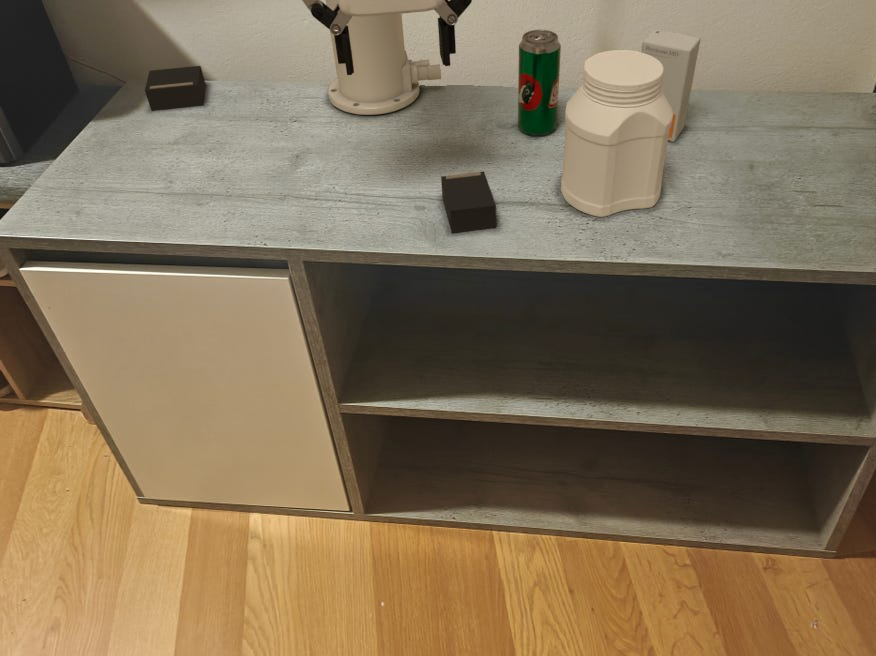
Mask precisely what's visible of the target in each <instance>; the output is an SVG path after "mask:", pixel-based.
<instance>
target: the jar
mask: <svg viewBox="0 0 876 656" xmlns="http://www.w3.org/2000/svg"><path fill="white" fill-rule="evenodd" d="M663 72H664V68H663V65H662V64H661V62H660V61H658V60H657V59H656V58H654V57H652V56H650V55H648V54H645V53H641V51H636V50H631V49H630V50H629V49H613V50H605V51H601V52H598V53H595V54H593V55H591V56H590V57H589V58H587V59H586V60H585V62H584V65H583V72H582V74H583V75H582V84H581V85H580V86H579V88H578V89H577V90H576V91H575V92H574V94H572V96H571V97H570V98H569V100H568V101H567V103H566V106H565V111H564V120H565V127H564V130H565V131H564V142H563V143H564V144H563V159H562V160H563V161H562V175H561V180H560V192H561V195H562V197H563V198H564V200H565V201H566V203H568V204H569V205H570V206H571V207H573V208H574V209H576V210H578V211H579V212H582V213H585V214H587V215H590V216H594V217H598V218H605V217H610V216H611V215H613V214H616V213H620V212H624V211H628V210H639V209H640V210H641V209H642V210H643V209H649V208H653V207H654V206H655V205H656V204H657V203H658V201H659V199H660V197H661V191H662V185H663V181H662V179H663V175H664V174H663V173H664V168H665V161H666V155H667V148H668V143H669V140H668V137H669V131H670V127H671V124H672V118H673V111H672V108H671V106H670V104H669V102H668V100H667V99H666V97H665V95H664V93H663V92H662V90H661V86H662V77H663Z"/></svg>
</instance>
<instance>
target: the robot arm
mask: <svg viewBox="0 0 876 656" xmlns="http://www.w3.org/2000/svg"><path fill="white" fill-rule="evenodd" d="M301 1H302V2H303V4H304V5H305V6H306V9H308V10H309V11H310V14H311V16H312V17H313V18H314V19H315V20H317V21H318V22H319V23H320V24H322V25H323V26H324V27H325V28H327V29H328V30H329V32H330V39H331V45H332V52H333V58H334V65H335V71H336V77H335V79H333V80H332V81H331V82H330V84H329V86H328V89H327V93H328V99H329V101H330V103H331V104H332V106H334V107H335V108H337V109H338V110H341V111H343V112H345V113H348V114H354V115H361V116H373V115H383V114H388V113H393V112H397V111H398V110H403V109H404V108H406V107H408V106H409V105H411V104H412V103H414V102H415V101H416V99H417V98H418V97H419V94H420V81H435V80H442V70H441V65H440V64H431V65H430V60H429V59H421V60H420V59H419V60H416V61H415V60H412V59H409V57H408V54H407V50H406V49H405V48H406V47H405V38H404V36H405V35H404V25H403V16H402V15H403V14H410V13H411V14H413V13H421V12H422V13H423V12H430V11H434V12H436V13H437V15H438V16H439V17H437V28H438V44H439V46H438V47H439V55H440V59H441V63H442V65H443V66H444V67H451V55H454V54H457V46H456V29H455V28H456V24H457V23H458V21H459V18H460V17H461V16H462V14H463V13H464V12H465V11H466V10H467V8H469V6H470V5H471V3H472V2H473V0H325V3H324V2H323V0H301Z"/></svg>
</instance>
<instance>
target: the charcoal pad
mask: <svg viewBox="0 0 876 656" xmlns="http://www.w3.org/2000/svg"><path fill="white" fill-rule="evenodd" d="M206 88H207V84H206V80H205V77H204V73H203V69H202V66H201V65H192V66H184V67H183V66H182V67H172V68H164V69H152V70H149V71H148V75H147V79H146V83H145V88H144V93H145V96H146V98H147V102H148V104H149V105H148V106H149V107H150V111H152V112H153V111H161V110H173V109H181V108H182V109H183V108H191V107H201V106H204V104H205V97H206V96H205V95H206V90H207V89H206Z"/></svg>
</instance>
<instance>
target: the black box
mask: <svg viewBox="0 0 876 656" xmlns="http://www.w3.org/2000/svg"><path fill="white" fill-rule="evenodd" d="M440 181H441V199H442V201H443V206H444V210H445V213H446V217H447V220H448V224H449V228H450V232H451V234H457V233H465V232H474V231H480V230H482V231H483V230H489V229H496V228H497V205H496V202H495V199H494V196H493V194H492V191H491V187H490V185H489V182H488V179H487V176H486V173H485V171H475V172H465V173H458V174H457V173H456V174H449V175H442V176H441V175H440Z"/></svg>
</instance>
